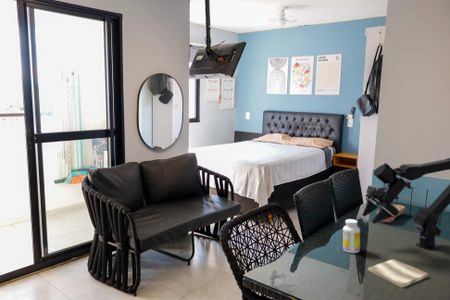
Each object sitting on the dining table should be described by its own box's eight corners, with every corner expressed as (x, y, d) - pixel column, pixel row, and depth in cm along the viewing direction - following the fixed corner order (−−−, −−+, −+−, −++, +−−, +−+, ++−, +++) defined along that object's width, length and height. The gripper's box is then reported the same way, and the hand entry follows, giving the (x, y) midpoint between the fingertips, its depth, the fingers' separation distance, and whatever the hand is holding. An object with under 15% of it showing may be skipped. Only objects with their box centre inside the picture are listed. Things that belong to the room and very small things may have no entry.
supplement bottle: (359, 248, 152) (360, 219, 150) (359, 254, 146) (360, 224, 144) (342, 246, 154) (343, 217, 152) (342, 252, 148) (343, 222, 146)
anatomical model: (392, 226, 176) (392, 216, 175) (372, 222, 183) (372, 213, 182) (406, 214, 193) (407, 205, 192) (387, 211, 199) (387, 202, 199)
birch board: (392, 261, 138) (392, 258, 138) (427, 276, 126) (428, 273, 126) (367, 270, 132) (367, 267, 131) (402, 287, 119) (402, 284, 119)
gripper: (368, 174, 156) (345, 201, 157) (389, 183, 137) (363, 214, 139) (386, 189, 157) (363, 216, 158) (410, 201, 139) (384, 231, 140)
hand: (367, 219), depth 149 cm, fingers open, 9 cm apart
